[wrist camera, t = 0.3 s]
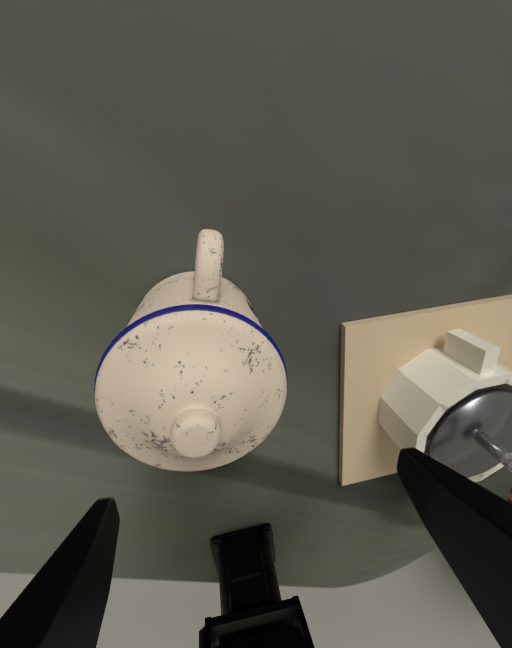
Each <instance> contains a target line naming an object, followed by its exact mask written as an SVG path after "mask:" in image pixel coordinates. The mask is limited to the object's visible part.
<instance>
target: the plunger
mask: <svg viewBox="0 0 512 648" xmlns="http://www.w3.org/2000/svg"><path fill="white" fill-rule="evenodd" d="M511 453H512V392H510V391H508V390H505V389H488V390H484V391H480V392H477V393H474V394H472V395H470V396H468V397H466V398H464V399H463V400H461V401H460V402H458V403H457V404H455V405H454V406H453V407H452V408H451V409H449V410H448V411H447V412H446V413H445V414H444V415H443V416H442V418H441V419H440V420H439V421H438V423H437V424H436V426H435V427H434V429H433V431H432V433H431V436H430V438H429V442H428V456H430V457H432V458H434V459H435V460H437V461H439V462H440V463H442V464H444V465H446V466H447V467H449V468H451V469H453V470H454V471H456V472H458V473H460V474H461V475H463V476H465V477H472V476H476V475H479V474H481V473H484V472H486V471H488V470H490V469H491V468H493V467H495V466H496V465H498V464H499V463H501V464H502V465H504V466H505V467H506V468H507V469H508V470H509V471H511V472H512V454H511ZM507 501H508V502H510V503H512V489H511V491H510V493H509V495H508V498H507Z"/></svg>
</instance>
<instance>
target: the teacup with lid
mask: <svg viewBox="0 0 512 648" xmlns="http://www.w3.org/2000/svg"><path fill="white" fill-rule="evenodd" d="M223 253H224V242H223V237H222V235H221V234H220V233H219V232H218V231H215V230H209V229H204V230H202V231H201V232H200V233H199V235H198V240H197V250H196V261H195V271H194V272H184V273H180V274H176V275H173V276H171V277H168V278H166V279H164V280H163V281H161V282H159V283H158V284H157V285H155V286H154V287H153V288H152V289H151V290H150V291H149V292H148V293H147V294H146V296H145V297H144V298H143V300H142V302H141V304H140V305H139V307H138V309H137V310H136V312H135V314H134V315H133V317H132V319H131V320H130V322H129V324H128V326H127V327H126V328H125V329H124V330H123V331H122V332H120V333H119V334H118V336H117V337H116V338H115V339H114V340H113V341H112V342H111V344H110V345H109V346H108V348H107V349H106V351H105V353H104V354H103V356H102V358H101V361H100V363H99V365H98V369H97V372H96V377H95V388H94V392H95V403H96V408H97V413H98V415H99V418H100V421H101V423H102V425H103V427H104V429H105V430H106V432H107V433H108V435H109V436H110V437H111V439H112V440H113V441H114V442H115V443H116V444H117V445H118V446H119V447H120V448H121V449H122V450H123V451H125V452H126V453H127V454H129V455H130V456H132V457H133V458H135V459H137V460H139V461H141V462H143V463H146V464H148V465H151V466H154V467H157V468H161V469H166V470H172V471H201V470H207V469H212V468H216V467H220V466H223V465H225V464H228V463H231V462H233V461H235V460H237V459H239V458H241V457H243V456H244V455H246V454H247V453H249V452H250V451H252V450H253V449H254V448H256V447H257V446H258V445H259V444H260V443H261V442H262V441H263V440H264V439H265V438H266V437H267V436H268V435H269V434H270V432H271V431H272V430H273V428H274V427H275V425H276V423H277V421H278V419H279V418H280V415H281V413H282V410H283V408H284V404H285V400H286V394H287V371H286V366H285V363H284V359H283V357H282V354H281V352H280V350H279V348H278V347H277V345H276V343H275V342H274V341H273V339H272V338H271V337H270V336H269V334H268V333H267V332H266V331H265V330H264V329H263V328H262V326H261V324H260V322H259V320H258V318H257V316H256V314H255V312H254V310H253V308H252V306H251V304H250V303H249V301H248V299H247V298H246V296H245V295H244V294H243V292H242V291H241V290H240V289H239V288H238V287H237V286H235V285H234V284H233V283H231V282H230V281H228V280H226V279H224V278H222V277H221V276H222V267H223Z"/></svg>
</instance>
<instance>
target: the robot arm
mask: <svg viewBox="0 0 512 648" xmlns="http://www.w3.org/2000/svg"><path fill="white" fill-rule="evenodd" d="M397 473H398V475H399V477H400V479H401V481H402V483H403V485H404V487H405V489H406V491H407V493H408V495H409V497H410V499H411V501H412V503H413V505H414V506H415V508H416V510H417V512H418V514H419V516H420V518H421V520H422V522H423V523H424V525H425V527H426V528H427V530H428V532H429V533H430V535H431V536H432V538H433V540H434V541H435V543H436V544H437V546H438V548H439V549H440V551H441V552H442V554H443V556H444V557H445V559H446V560H447V562H448V564H449V565H450V567H451V568H452V570H453V571H454V573H455V575H456V576H457V578H458V579H459V581H460V583H461V584H462V586H463V588H464V589H465V591H466V593H467V594H468V596H469V597H470V599H471V600H472V602H473V604H474V605H475V607H476V608H477V610H478V611H479V613H480V615H481V617H482V618H483V620H484V621H485V623H486V625H487V626H488V628H489V629H490V631H491V632H492V634H493V636H494V637H495V639H496V641H497V642H498V644H499V645H500V647H501V648H512V503H510V502H508V501H506V500H505V499H503V498H501V497H499V496H498V495H496V494H494V493H493V492H491V491H489V490H487V489H486V488H484V487H482V486H480V485H479V484H477V483H475V482H473V481H472V480H470V479H468V478H467V477H465V476H463V475H461V474H460V473H458V472H456V471H454V470H453V469H451V468H449V467H447V466H446V465H444V464H442V463H440V462H439V461H437V460H435V459H434V458H432V457H430V456H428V455H427V454H425V453H423V452H421V451H420V450H418V449H416V448H414V447H408V448H402V449H401V450H400V452H399V457H398V462H397ZM119 523H120V519H119V513H118V510H117V506H116V503H115V500H114V498H113V497H108V498H102V499H98V500H97V501H96V502H95V503H94V504H93V505H92V507H91V508H90V509H89V510H88V512H87V513H86V514H85V515H84V516H83V518H82V519H81V520H80V521H79V523H78V524H77V525H76V526H75V527H74V529H73V530H72V531H71V532H70V534H69V535H68V536H67V537H66V539H65V540H64V541H63V542H62V543H61V545H60V546H59V547H58V548H57V550H56V551H55V552H54V553H53V555H52V556H51V557H50V558H49V559H48V561H47V562H46V563H45V564H44V566H43V567H42V568H41V569H40V571H39V572H38V573H37V574H36V575H35V577H34V578H33V579H32V580H31V582H30V583H29V584H28V585H27V586H26V588H25V589H24V590H23V591H22V593H21V594H20V595H19V596H18V598H17V599H16V600H15V601H14V602H13V604H12V605H11V606H10V607H9V609H8V610H7V611H6V612H5V614H4V615H3V616H2V617H1V618H0V648H96V645H97V641H98V636H99V632H100V628H101V624H102V620H103V615H104V612H105V608H106V604H107V599H108V595H109V590H110V584H111V579H112V572H113V565H114V558H115V551H116V544H117V538H118V531H119ZM210 542H211V548H212V552H213V556H214V560H215V564H216V568H217V571H218V575H219V582H220V600H221V616H217V617H213V618H211V617H207V618H205V626H204V628H202V629H201V630H200V631H199V648H314V645H313V642H312V638H311V635H310V633H309V629H308V626H307V623H306V619H305V616H304V613H303V610H302V607H301V604H300V600H299V597H298V596H294V597H292V598H291V599H287V600H283V601H282V600H281V596H280V591H279V586H278V581H277V576H276V571H275V567H274V563H275V561H276V559H275V551H274V543H273V535H272V528H271V524H269V523H266V524H262V525H258V526H254V527H250V528H246V529H242V530H238V531H234V532H230V533H226V534H222V535H218V536H214V537H212V538H211V540H210Z"/></svg>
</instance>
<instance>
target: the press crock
mask: <svg viewBox="0 0 512 648" xmlns="http://www.w3.org/2000/svg"><path fill="white" fill-rule="evenodd" d="M488 389H505V390H508V391H510V392H512V294H511V295H505V296H499V297H493V298H487V299H481V300H475V301H469V302H463V303H457V304H451V305H445V306H439V307H433V308H428V309H422V310H416V311H410V312H404V313H398V314H392V315H386V316H380V317H374V318H368V319H362V320H356V321H350V322H345V323H341V365H340V432H339V481H340V483H341V485H342V486H344V485H348V484H352V483H357V482H361V481H365V480H369V479H373V478H377V477H381V476H386V475H390V474H394V473H397V462H398V457H399V452H400V450H401V449H402V448H408V447H414V448H416V449H418V450H420V451H421V452H423V453H425V454H427V455H428V442H429V438H430V436H431V433H432V431H433V429H434V427H435V426H436V424H437V423H438V421H439V420H440V419H441V418H442V416H443V415H444V414H445V413H446V412H447V411H448V410H449V409H451V408H452V407H453V406H454V405H455V404H457V403H458V402H460V401H461V400H463V399H464V398H466V397H468V396H470V395H472V394H474V393H477V392H480V391H484V390H488ZM511 454H512V453H511ZM503 466H504V465H502V464H501V463H499V464H498V465H496V466H495V467H493V468H491V469H490V470H488V471H486V472H484V473H481V474H479V475H476V476H472V477H467V478H468V479H470V480H472V481H473V482H477V481H481V480H483V479H484V478H486V477H488V476H489V475H491V474H492V473H494V472H495V471H497V470H499V469H500V468H502V467H503Z"/></svg>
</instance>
